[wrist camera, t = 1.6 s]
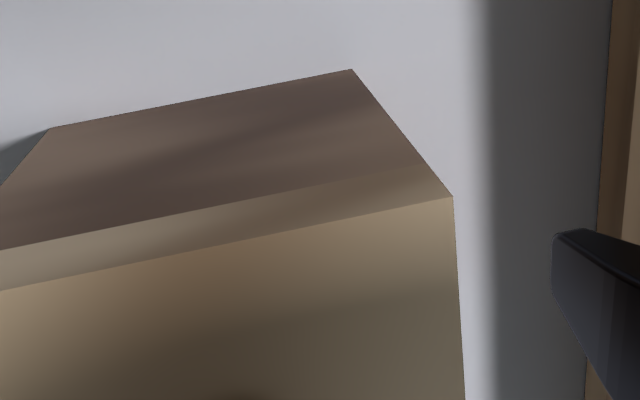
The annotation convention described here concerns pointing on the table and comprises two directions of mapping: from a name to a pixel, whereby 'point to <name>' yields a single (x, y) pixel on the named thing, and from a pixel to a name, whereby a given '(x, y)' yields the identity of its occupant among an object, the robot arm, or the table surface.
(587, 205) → the table surface
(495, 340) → the table surface
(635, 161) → the caddy
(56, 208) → the beige box
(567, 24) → the table surface
